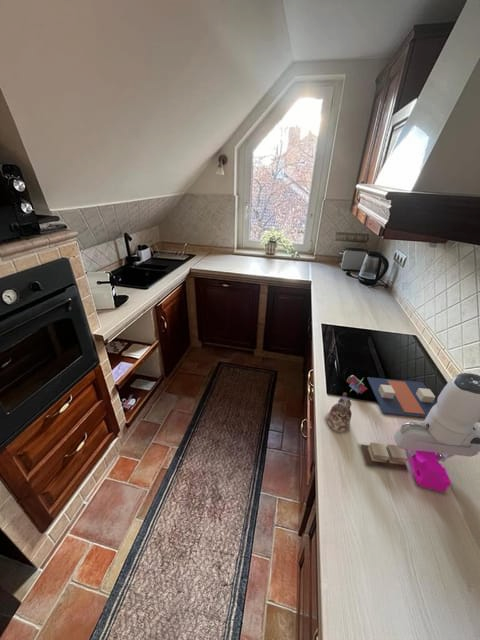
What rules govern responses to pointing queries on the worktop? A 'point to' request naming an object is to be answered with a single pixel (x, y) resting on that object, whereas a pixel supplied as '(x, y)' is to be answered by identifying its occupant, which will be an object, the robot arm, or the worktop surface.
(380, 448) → the word strip left
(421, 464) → the toy block
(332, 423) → the figurine
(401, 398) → the blue orange board
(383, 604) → the worktop surface
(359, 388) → the geometric puzzle
